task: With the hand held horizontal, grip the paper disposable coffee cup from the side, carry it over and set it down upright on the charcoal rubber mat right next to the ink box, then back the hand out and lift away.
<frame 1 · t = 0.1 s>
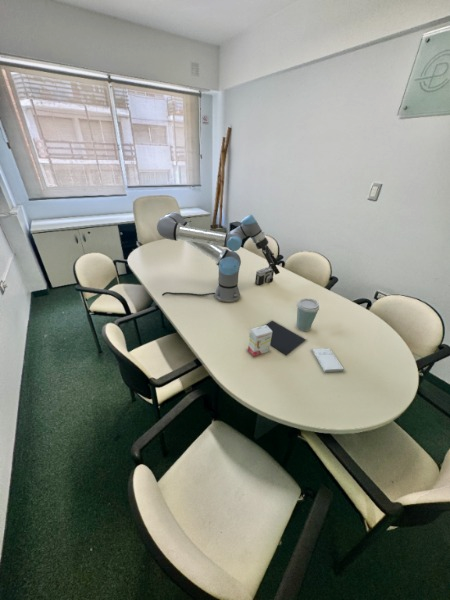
hand: (277, 268, 150), 15 cm above the table, tool tilted 35°, fingers open, 13 cm apart
hard drive: (326, 361, 105), on the table
ink box: (258, 351, 109), on the table
camera: (265, 283, 167), on the table
disposable coffee cup: (302, 327, 125), on the table
mat: (278, 336, 117), on the table
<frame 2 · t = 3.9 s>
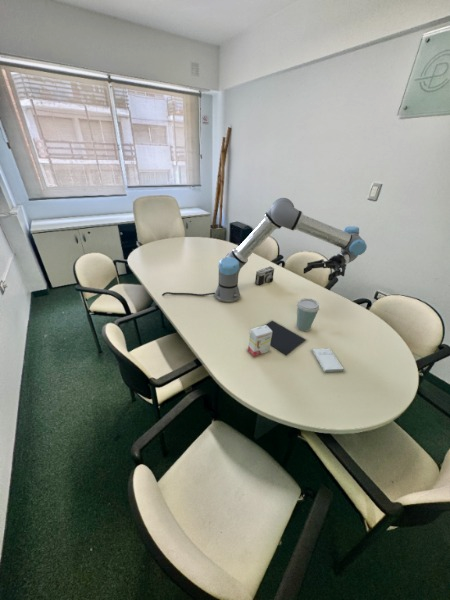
hand: (316, 274, 119), 26 cm above the table, tool horizontal, fingers open, 13 cm apart
nothing on the table moved.
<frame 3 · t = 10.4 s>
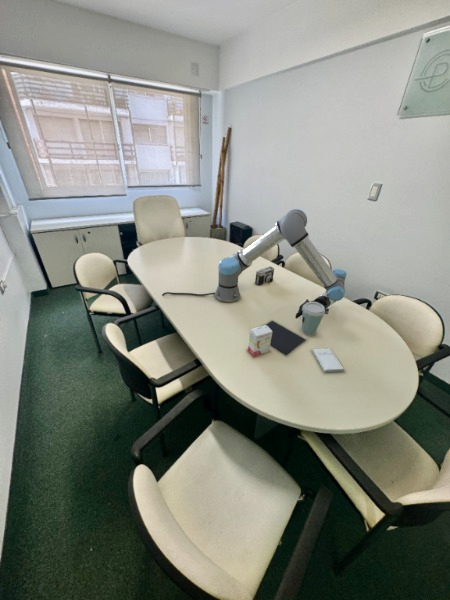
hand: (299, 317, 117), 8 cm above the table, tool horizontal, fingers closed on disposable coffee cup, 3 cm apart
disposable coffee cup: (307, 331, 122), on the table, touching gripper
everything else where it was.
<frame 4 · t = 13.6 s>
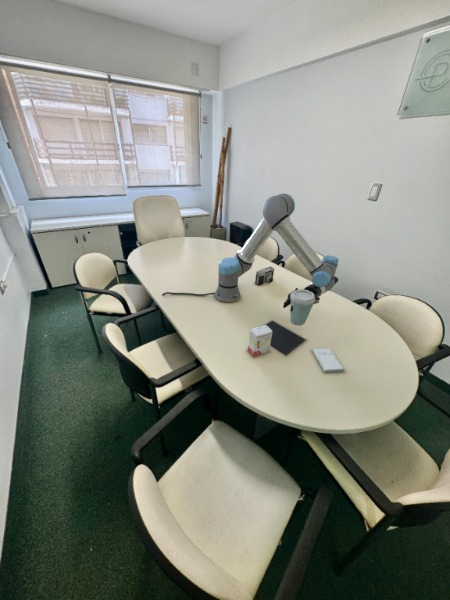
hand: (287, 306, 108), 18 cm above the table, tool horizontal, fingers closed on disposable coffee cup, 3 cm apart
disposable coffee cup: (296, 322, 113), point 9 cm above the table, touching gripper
everything else where it was.
when the fingers open (9 cm above the table, at t = 17.2 s): disposable coffee cup stays where it is, resting on mat.
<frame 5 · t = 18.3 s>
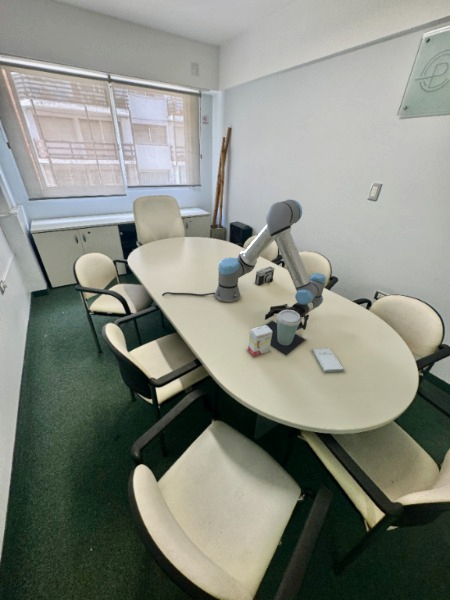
hand: (277, 324, 111), 9 cm above the table, tool horizontal, fingers open, 13 cm apart
disposable coffee cup: (283, 341, 115), resting on mat
everything else where it was.
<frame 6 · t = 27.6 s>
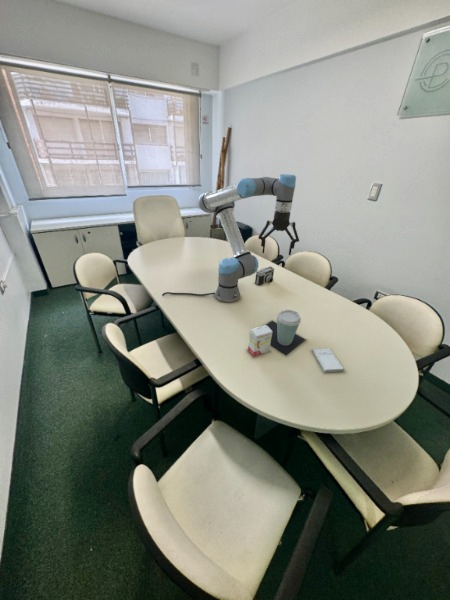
hand: (276, 253, 126), 32 cm above the table, tool pointing down, fingers open, 13 cm apart
nothing on the table moved.
at the end: disposable coffee cup inside the target area on the mat (3.9 cm from its centre), point 0.2 cm above the mat's base; disposable coffee cup 14.6 cm from the ink box (horizontally); disposable coffee cup tilted 0° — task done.
